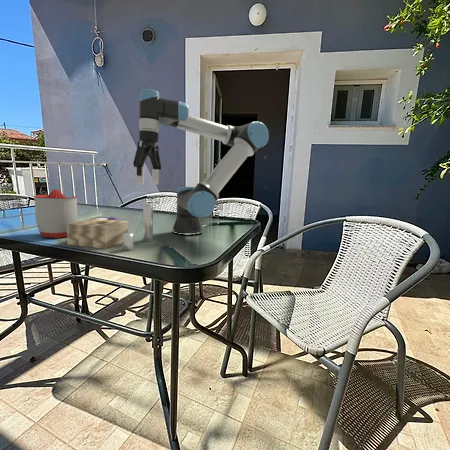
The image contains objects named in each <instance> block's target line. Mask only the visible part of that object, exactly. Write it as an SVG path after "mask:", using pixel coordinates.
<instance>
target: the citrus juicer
mask: <svg viewBox="0 0 450 450" xmlns="http://www.w3.org/2000/svg"><path fill="white" fill-rule="evenodd" d="M33 197H34V209H35V210H34V212H35V213H34V214H35V215H34V216H35V222H36V226H37V229H38V232H39V233H40V236H41V237H44V238H54V239H61V238H65V237H66V238H67V224H68V223H73V222H78V196H76V195H74V196H73V197H66V195H64V194H63V193H62V192H61V191H60V190H59V189H58V188H54V189H53V190H52V191H50V192H49V193H48V194H35V195H33Z"/></svg>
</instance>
